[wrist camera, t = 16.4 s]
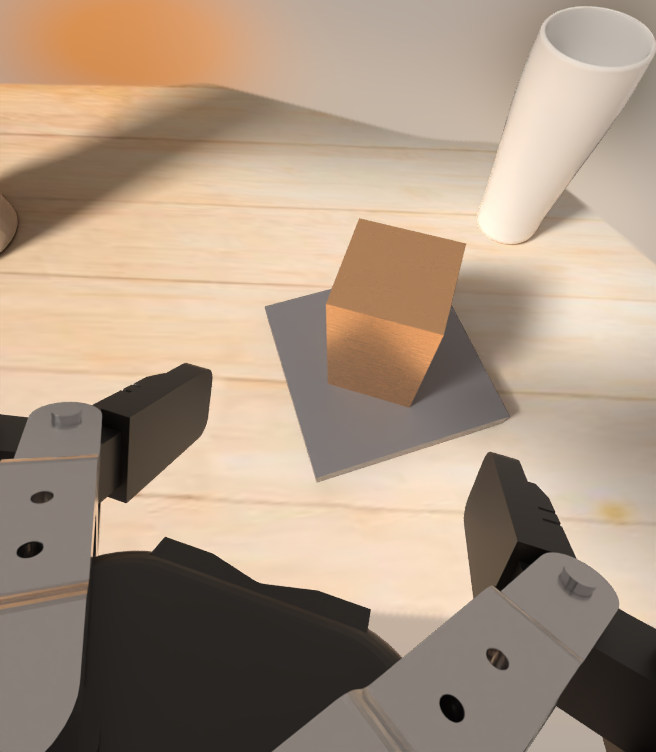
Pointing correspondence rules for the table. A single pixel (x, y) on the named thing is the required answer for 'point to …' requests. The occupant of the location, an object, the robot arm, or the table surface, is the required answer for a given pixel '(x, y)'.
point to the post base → (372, 415)
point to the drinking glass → (561, 113)
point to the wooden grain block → (389, 310)
